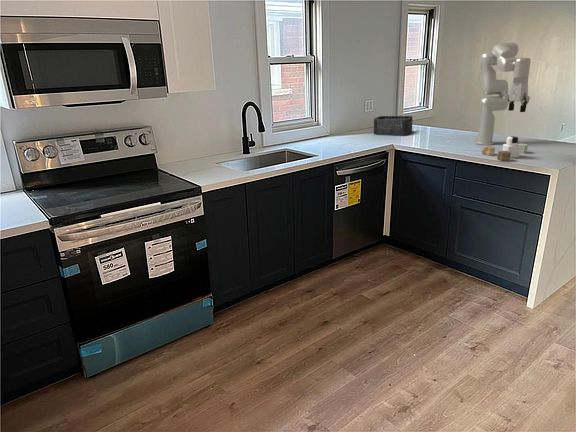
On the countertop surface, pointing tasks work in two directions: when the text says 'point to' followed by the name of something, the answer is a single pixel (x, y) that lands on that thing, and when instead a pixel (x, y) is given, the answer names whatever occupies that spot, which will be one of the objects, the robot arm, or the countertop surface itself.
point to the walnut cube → (503, 156)
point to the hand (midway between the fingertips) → (516, 111)
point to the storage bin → (393, 125)
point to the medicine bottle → (512, 146)
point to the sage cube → (523, 148)
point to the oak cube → (488, 150)
